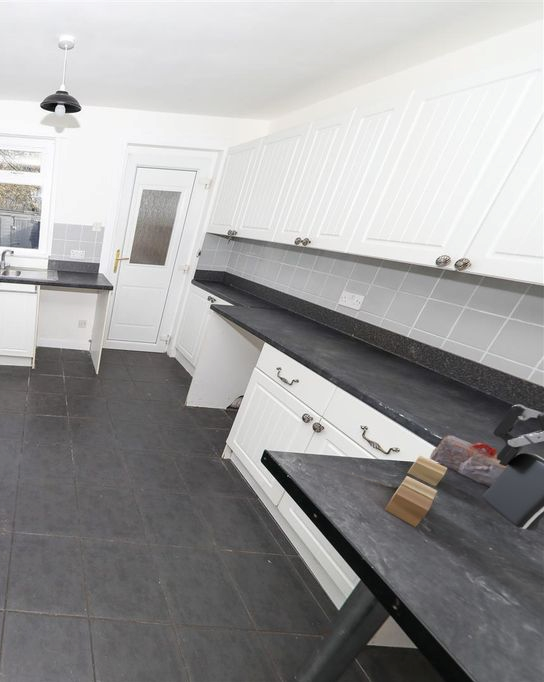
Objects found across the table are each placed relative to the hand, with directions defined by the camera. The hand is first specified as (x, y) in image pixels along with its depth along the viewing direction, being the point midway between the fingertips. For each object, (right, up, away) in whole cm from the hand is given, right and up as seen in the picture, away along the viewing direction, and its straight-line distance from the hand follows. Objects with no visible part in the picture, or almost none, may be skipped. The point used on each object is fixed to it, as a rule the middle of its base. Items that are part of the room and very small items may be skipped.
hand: (540, 480), depth 54 cm
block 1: (+18, -13, +32) cm, 39 cm away
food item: (+34, -14, +35) cm, 51 cm away
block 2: (+6, -15, +24) cm, 29 cm away
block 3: (+1, -16, +21) cm, 26 cm away
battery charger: (-1, -8, +3) cm, 8 cm away
